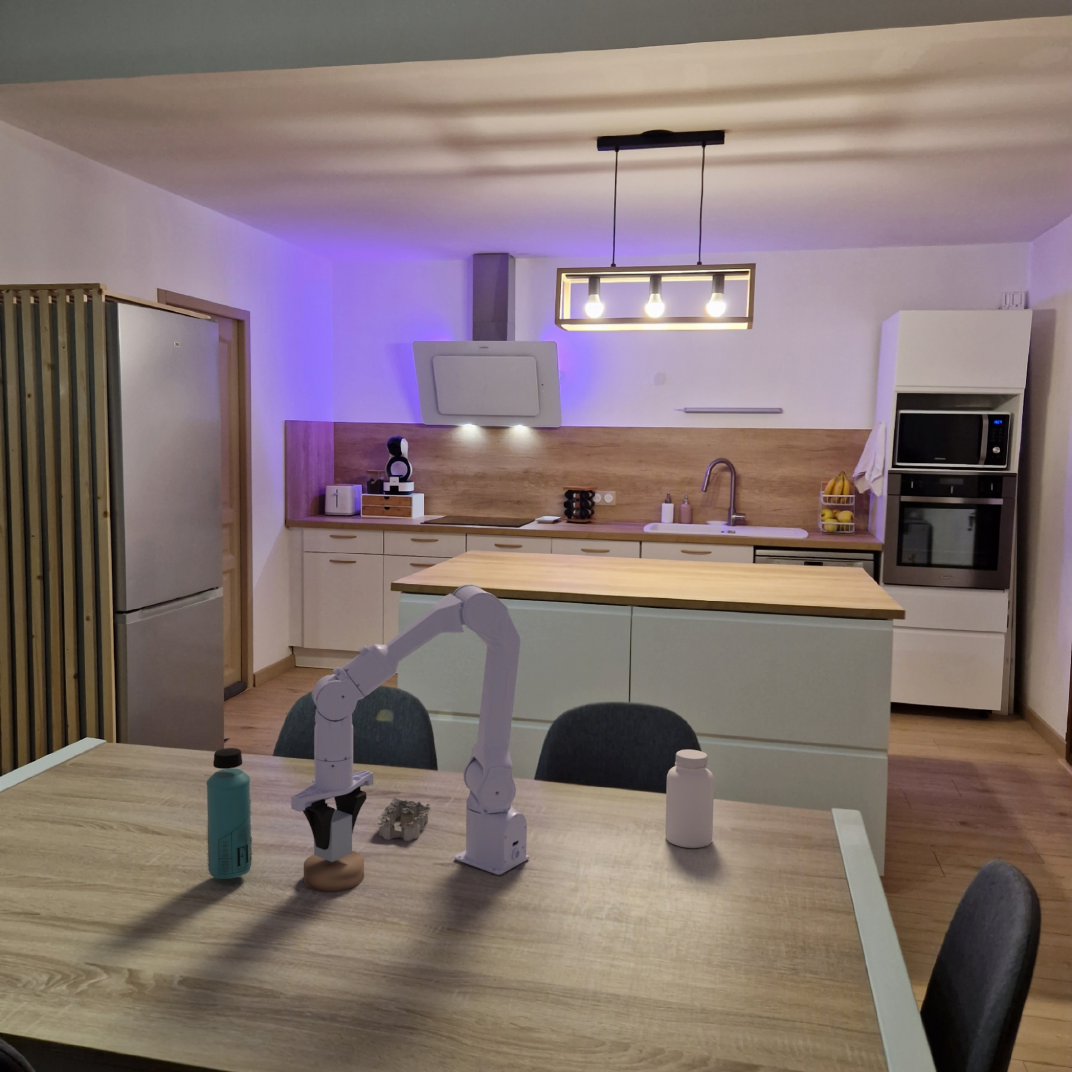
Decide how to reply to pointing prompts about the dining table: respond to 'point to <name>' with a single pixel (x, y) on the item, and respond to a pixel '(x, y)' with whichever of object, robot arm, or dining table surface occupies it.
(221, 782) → the beverage bottle
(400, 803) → the egg carton
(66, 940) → the dining table surface
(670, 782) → the pill bottle
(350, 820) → the block
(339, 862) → the pedestal
